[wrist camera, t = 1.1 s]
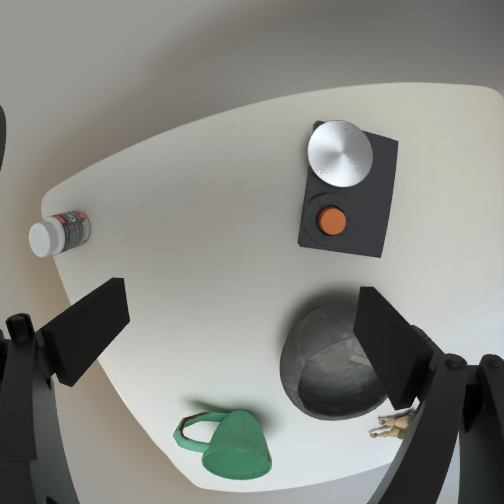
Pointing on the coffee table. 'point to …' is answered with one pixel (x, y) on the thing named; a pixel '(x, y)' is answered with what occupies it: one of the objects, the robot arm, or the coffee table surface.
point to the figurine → (398, 430)
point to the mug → (230, 445)
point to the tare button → (331, 220)
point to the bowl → (329, 366)
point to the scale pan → (339, 153)
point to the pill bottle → (59, 233)
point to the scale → (353, 205)
